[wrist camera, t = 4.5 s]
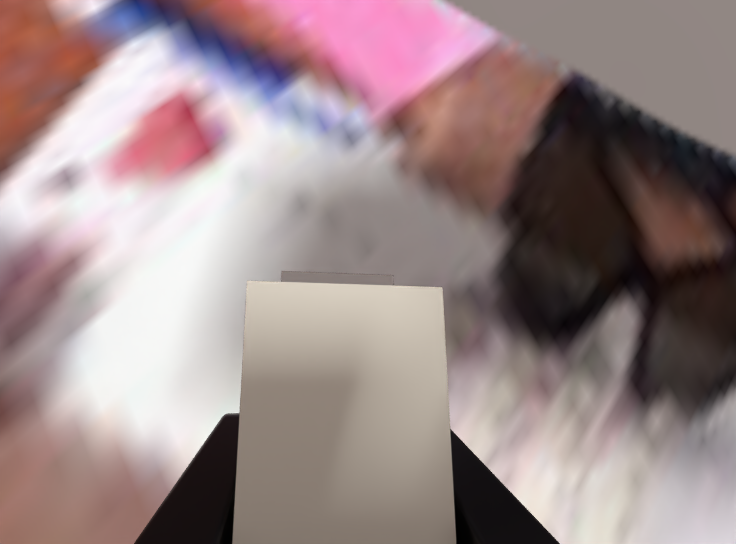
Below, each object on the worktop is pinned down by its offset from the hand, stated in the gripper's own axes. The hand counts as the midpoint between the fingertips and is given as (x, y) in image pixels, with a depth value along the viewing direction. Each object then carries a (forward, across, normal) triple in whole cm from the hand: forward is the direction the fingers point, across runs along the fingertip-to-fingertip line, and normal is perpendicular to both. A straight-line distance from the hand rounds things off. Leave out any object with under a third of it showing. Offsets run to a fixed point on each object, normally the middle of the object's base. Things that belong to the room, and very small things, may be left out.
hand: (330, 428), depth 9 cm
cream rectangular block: (+4, 0, +5) cm, 7 cm away
